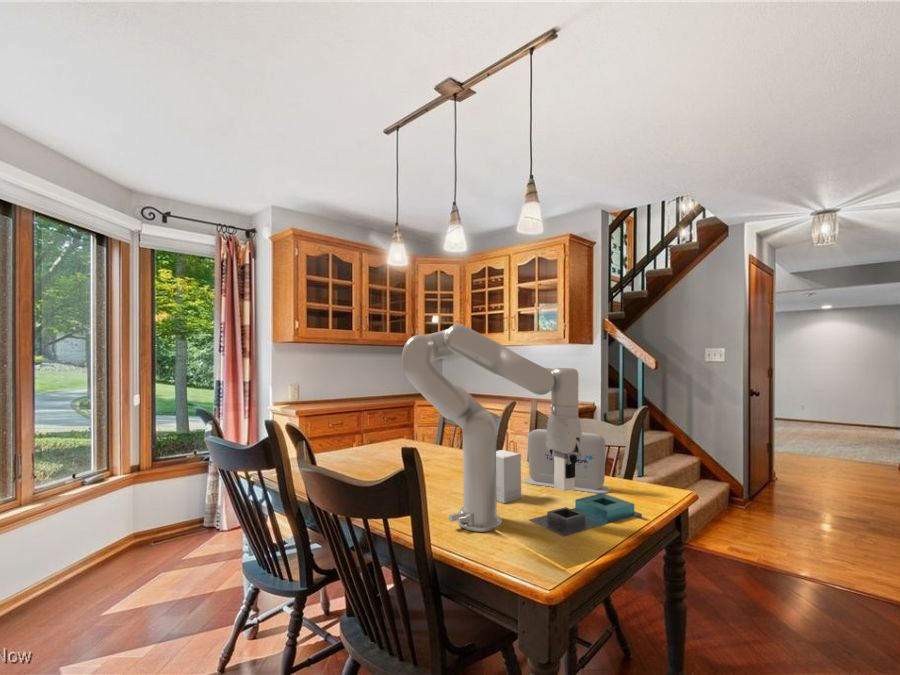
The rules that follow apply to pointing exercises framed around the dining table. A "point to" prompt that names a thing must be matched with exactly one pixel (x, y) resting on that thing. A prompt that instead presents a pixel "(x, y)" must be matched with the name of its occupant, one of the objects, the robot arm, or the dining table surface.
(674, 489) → the dining table surface
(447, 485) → the dining table surface
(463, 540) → the dining table surface
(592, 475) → the wireless router
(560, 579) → the dining table surface
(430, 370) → the robot arm
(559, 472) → the plug
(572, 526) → the panel
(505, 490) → the supplement box
